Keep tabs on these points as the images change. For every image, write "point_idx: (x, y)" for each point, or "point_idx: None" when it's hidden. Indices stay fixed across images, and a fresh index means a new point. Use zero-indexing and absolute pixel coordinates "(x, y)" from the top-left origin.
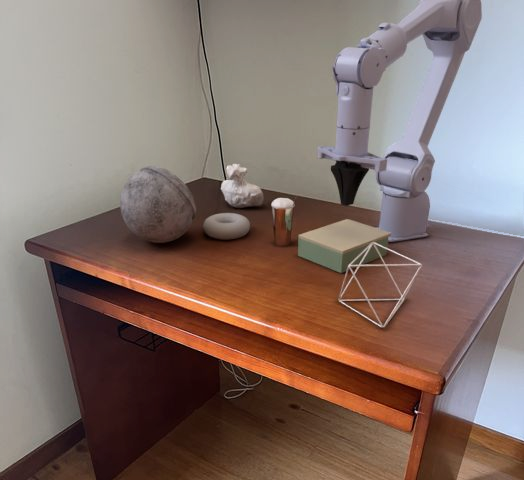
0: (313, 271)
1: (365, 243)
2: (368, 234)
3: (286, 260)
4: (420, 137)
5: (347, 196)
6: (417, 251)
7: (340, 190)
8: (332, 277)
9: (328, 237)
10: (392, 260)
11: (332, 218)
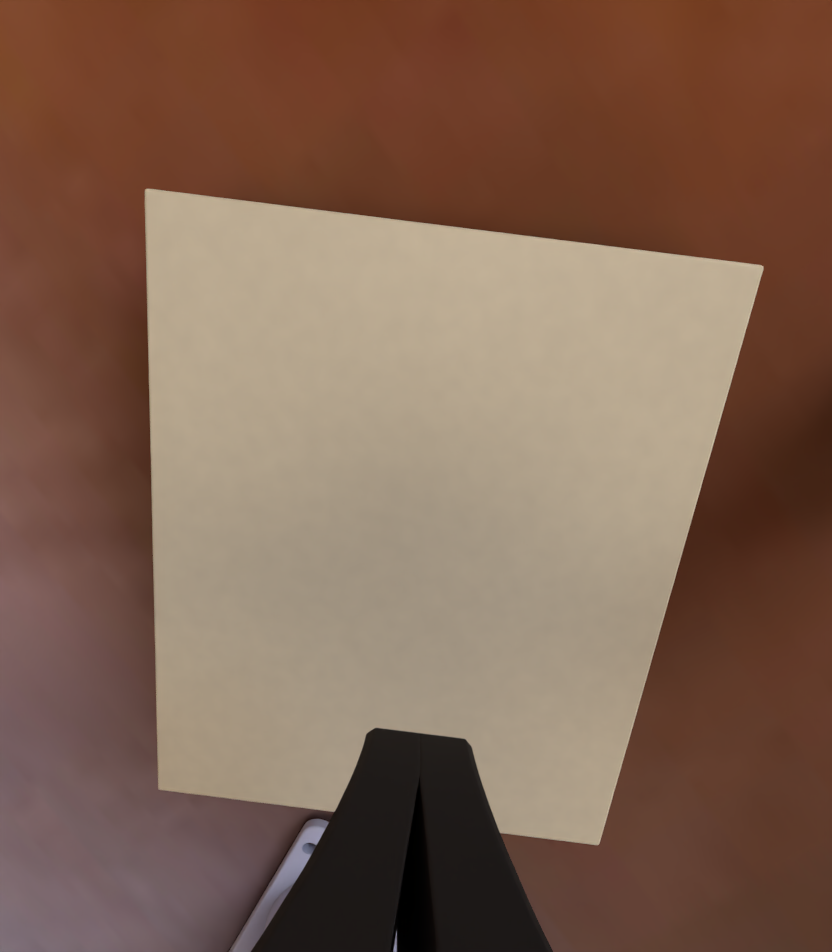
0: (399, 77)
1: (152, 504)
2: (257, 671)
3: (713, 110)
4: None
5: (328, 835)
6: (126, 797)
7: (471, 904)
8: (217, 86)
9: (471, 404)
10: (133, 613)
11: (829, 940)
